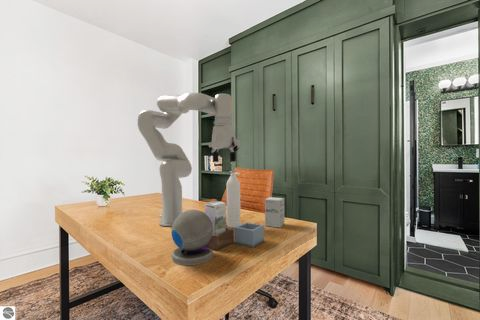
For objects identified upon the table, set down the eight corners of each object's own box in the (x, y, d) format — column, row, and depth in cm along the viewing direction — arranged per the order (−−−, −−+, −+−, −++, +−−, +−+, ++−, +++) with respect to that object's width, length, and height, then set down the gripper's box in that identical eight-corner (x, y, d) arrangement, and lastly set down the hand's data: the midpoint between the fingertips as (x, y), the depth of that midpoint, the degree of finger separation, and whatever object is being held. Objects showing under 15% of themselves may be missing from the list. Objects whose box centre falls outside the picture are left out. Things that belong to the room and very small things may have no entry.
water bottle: (236, 228, 106) (235, 173, 106) (224, 226, 109) (223, 173, 109) (245, 223, 113) (244, 172, 113) (233, 222, 116) (233, 172, 116)
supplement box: (264, 226, 109) (264, 199, 109) (270, 222, 115) (270, 196, 115) (279, 228, 105) (279, 200, 105) (285, 224, 112) (284, 197, 112)
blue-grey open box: (234, 243, 87) (234, 227, 87) (246, 237, 93) (246, 222, 93) (253, 247, 82) (253, 230, 82) (264, 241, 89) (263, 225, 89)
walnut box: (196, 245, 85) (195, 231, 85) (213, 237, 94) (213, 225, 94) (217, 250, 80) (216, 236, 80) (233, 242, 88) (233, 228, 88)
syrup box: (215, 237, 91) (215, 200, 91) (226, 241, 87) (226, 202, 87) (204, 241, 87) (203, 202, 87) (215, 245, 83) (214, 204, 83)
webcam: (220, 256, 76) (220, 209, 76) (186, 269, 66) (185, 216, 66) (197, 246, 85) (196, 204, 85) (164, 256, 75) (163, 210, 76)
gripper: (203, 123, 105) (203, 162, 105) (234, 119, 95) (235, 161, 95) (214, 125, 111) (214, 161, 111) (244, 121, 101) (245, 161, 101)
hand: (224, 161), depth 103 cm, fingers open, 9 cm apart
